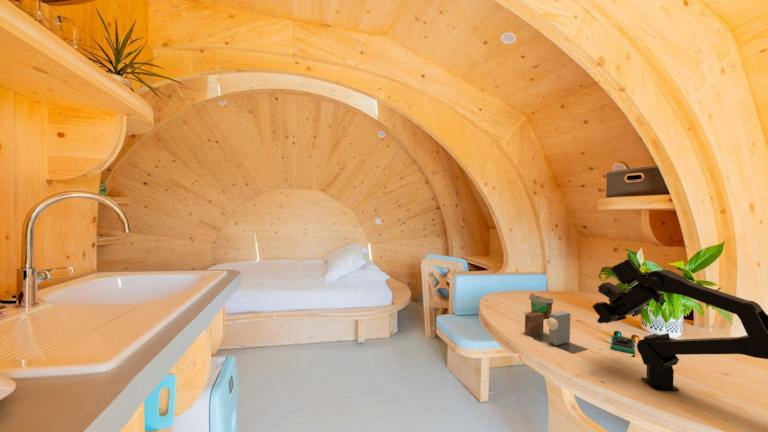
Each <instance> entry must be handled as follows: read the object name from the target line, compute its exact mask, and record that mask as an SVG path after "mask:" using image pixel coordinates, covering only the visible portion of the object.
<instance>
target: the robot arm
mask: <svg viewBox="0 0 768 432" xmlns="http://www.w3.org/2000/svg"><path fill="white" fill-rule="evenodd" d="M610 272H611V273H612V274H613V275H614V276H615V277H616V278H617V280H618V282H620V283H621V285H623V286H625V285H627V286H628V287H630V288H628V289H627V290H625V291H624V290H622V288H620V287H618V286H617V285H615V284H613V283H612V282H609V281H608V282H602V283H600V284H599V285H598V286H597V288H598V290H597V291H598V292H599V293H600V294H602V295H603V296H604V297H607V298H608V302H609V303H608V302H606V301H600V302H596V303H595V304H593V305H592V309H593V310H594V311H595V312H596V315H598V319H597V321H596V322H597V323H598V324H608V323H613V322H614V323H615V322H619V321H622V320H626V319H627V316H630V315H631V316H632V318H635V317H638V316H639V315H641V314H642V310H643V309H642V308H644V306H645V305H646V304H648V303H649V302H651V301H654V302H655V303H657V304H660V303H663V302H665V293H668V294H672V295H679V296H684V297H687V298H690V299H692V300H695V301H698V302H701V303H703V304H706V305H709V306H712V307H715V308H717V309H720V310H723V311H726V312H728V313H731V314H734V315H736V316H737V317H738V319H739V320H740V322H741V324H742V326H743V328H744V331H745V332H746V334H745V335H741V336H735V337H734V336H732V337H729V336H728V337H706V338H705V337H704V338H688V339H687V338H681V339H676V338H671V337H670V333H668V332H667V333H663V334H658V333H653V334H648V335H645V336H643V339H639V340H638V342H637V343H636V349H637V351H638V354H639V355H640V356H641V357H640V358H641V359H642V362H643V365H645V366H646V375H645V376H646V377H641V378H640V379H641V381H643V382H644V383H646V384H647V385H648V386H650V387H651V388H652V389H654V390H656V391H672V392H679V391H680V388H679V387H676V386H675V385H674V378H675V377H674V376H675V373H674V372H675V370H674V368H673V366H676V365H677V364H678V363H679V361H680V358H679V357H678V356H679V355H681V356H682V355H743V356H747V357H751V358H756V359H762V360H763V359H764V360H768V314H767V313H766V311H764V309H763V308H762V307H761V305H760V304H759V303H757V302H756V301H753V300H747V299H744V298H741V297H738V296H735V295H732V294H729V293H726V292H723V291H719V290H718V289H717V290H716V289H714V288H710V287H708V286H704V285H702V284H699V283H695V282H693V281H691V280H689V279H687V278H686V277H684V276H683V275H680V274H678V273H677V272H674V271H672V270H670V269H660V270H659V269H658V270H652V271H650V272H649V271H646V272H643V271H642V270H640V268H639V267H638V266H637V265H636V264H635V262H634V261H633V260H632V259H630V258H627V259H625V260H624V261H622V262H620V263H617V264H615V265H613V266H612V267H611V268H610ZM677 355H678V356H677Z"/></svg>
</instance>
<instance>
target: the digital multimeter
mask: <svg viewBox="0 0 768 432" xmlns="http://www.w3.org/2000/svg"><path fill="white" fill-rule="evenodd" d="M609 348H610V350H611V351H615V352H619V353H625V354H630V355H631V356H630V357H632V358H635V357H636V351H635V339H633V338H630V337H627V336H622V335H611V343H610V346H609Z"/></svg>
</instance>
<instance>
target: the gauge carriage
mask: <svg viewBox="0 0 768 432" xmlns="http://www.w3.org/2000/svg"><path fill="white" fill-rule="evenodd" d="M546 325H547V327H548V334H549V343H548V344H549V345H551V344H554V345H559V344H563V343H567V342H570V343H571V341H570V340H571V313H570V312H568V311H565V310H561V311H557V312H551V314H549V319H546ZM549 345H548V346H549Z"/></svg>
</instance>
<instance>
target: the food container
mask: <svg viewBox="0 0 768 432" xmlns="http://www.w3.org/2000/svg"><path fill="white" fill-rule="evenodd" d="M528 299H529V300H530V308H531V309H530V311H531V313H536V312H540V313H543V314H544V320H548V319H549V314H551V313H552V310H553V304H554V303H555V302H554V299H553V298H547V297H545V296H540V295H539V296H538V295H536V294H534V292H532V293H530V294H529V297H528Z"/></svg>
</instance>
